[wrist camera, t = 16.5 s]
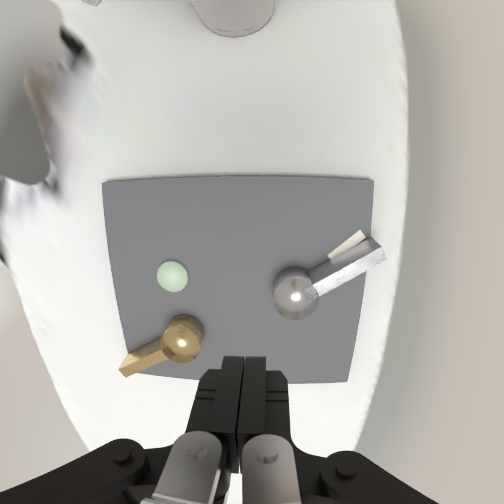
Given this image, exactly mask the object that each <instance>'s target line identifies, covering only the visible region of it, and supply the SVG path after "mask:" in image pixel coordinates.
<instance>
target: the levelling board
mask: <svg viewBox="0 0 504 504" xmlns="http://www.w3.org/2000/svg"><path fill="white" fill-rule="evenodd" d="M373 190H374V181H373V180H368V179H352V178H332V177H305V176H200V177H173V178H153V179H137V180H123V181H110V182H104V183H102V195H103V207H104V217H105V226H106V235H107V243H108V251H109V258H110V265H111V271H112V277H113V283H114V289H115V294H116V300H117V305H118V310H119V315H120V320H121V325H122V329H123V334H124V338H125V342H126V347H127V351H128V354H129V353H131V352H133V351H135V350H137V349H139V348H141V347H143V346H145V345H147V344H149V343H151V342H153V341H155V340H157V339H159V338H161V337H162V336H163V334H164V332H165V330H166V328H167V327H168V325H169V323H170V321H171V320H172V319H173V318H174V317H176V316H179V315H188V316H191V317H194V318H195V319H197V320H198V321H199V322H200V323H201V324H202V326H203V328H204V338H203V341H202V344H201V347H200V350H199V353H198V355H197V357H196V358H195V359H194V360H193V361H191V362H189V363H178V362H174V361H172V360H170V359H167V360H164V361H162V362H160V363H158V364H155V365H153V366H151V367H149V368H146V369H144V370H142V371H139V372H137V373H142V374H149V375H157V376H165V377H174V378H183V379H194V380H200V378H201V377H202V376H203V374H204V373H205V372H206V371H207V370H208V369H221V366H222V361H223V357H224V356H244V357H245V358H246V356H266V370H281V371H282V373H283V374H284V376H285V377H286V379H287V381H288V384H304V383H336V382H347V380H348V376H349V371H350V366H351V361H352V356H353V351H354V346H355V341H356V335H357V330H358V324H359V318H360V312H361V305H362V299H363V292H364V285H365V277H366V271H365V272H363V273H361V274H359V275H358V276H356V277H354V278H352V279H350V280H349V281H347V282H345V283H343V284H341V285H340V286H338V287H336V288H334V289H332V290H330V291H328V292H327V293H325V294H323V295H321V296H319V304H318V307H317V309H316V310H315V312H314V313H313V314H312V315H310V316H309V317H307V318H305V319H302V320H289V319H286V318H284V317H282V316H281V315H280V314H279V313H278V312H277V310H276V309H275V306H274V281H275V279H276V277H277V275H278V274H279V273H280V272H281V271H283V270H284V269H286V268H290V267H300V268H303V269H305V270H307V271H308V272H309V271H310V270H312V269H314V268H316V267H318V266H320V265H322V264H323V263H325V262H327V261H329V260H331V259H332V258H334V257H336V256H338V255H340V254H341V253H343V252H345V251H347V250H349V249H350V248H352V247H354V246H356V245H357V244H359V243H361V242H363V241H364V240H366V239H368V238H370V231H371V220H372V206H373Z"/></svg>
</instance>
